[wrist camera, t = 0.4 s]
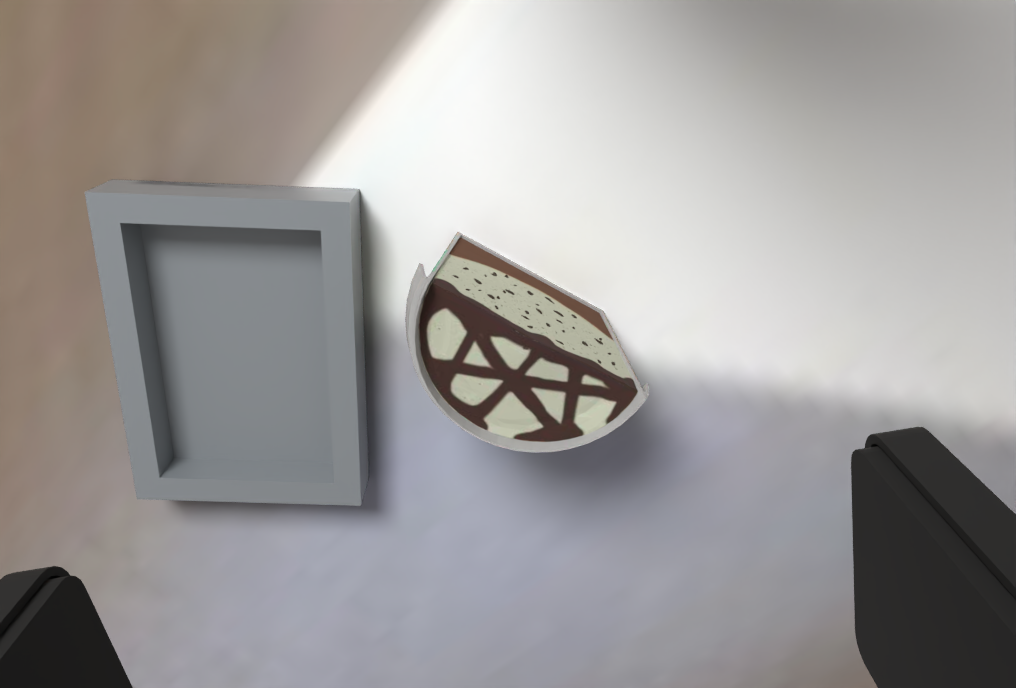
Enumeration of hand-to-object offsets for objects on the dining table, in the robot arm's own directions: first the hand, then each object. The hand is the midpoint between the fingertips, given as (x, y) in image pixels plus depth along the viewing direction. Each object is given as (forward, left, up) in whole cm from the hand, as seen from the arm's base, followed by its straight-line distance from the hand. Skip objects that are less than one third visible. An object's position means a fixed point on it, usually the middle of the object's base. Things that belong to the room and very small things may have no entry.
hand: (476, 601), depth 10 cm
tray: (+12, -14, -35) cm, 39 cm away
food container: (+10, +1, -35) cm, 36 cm away
